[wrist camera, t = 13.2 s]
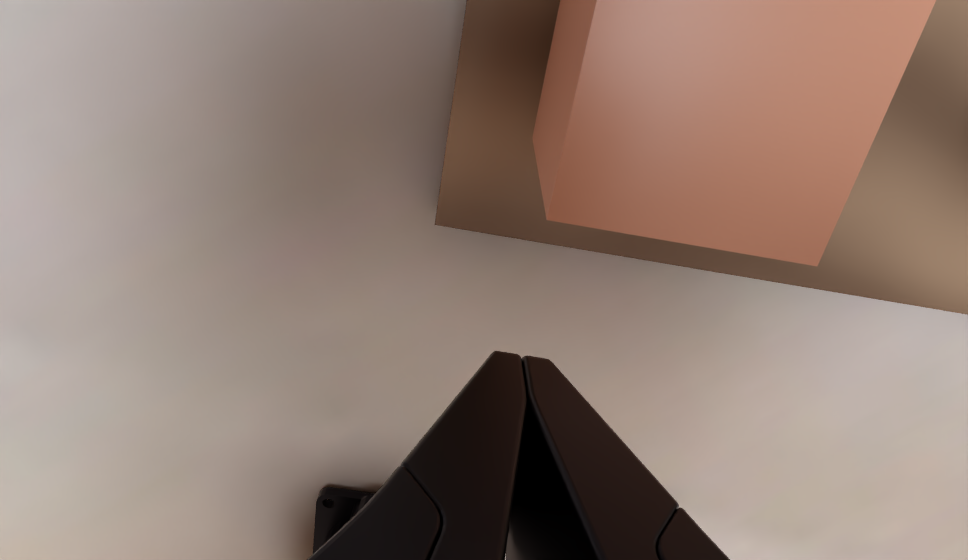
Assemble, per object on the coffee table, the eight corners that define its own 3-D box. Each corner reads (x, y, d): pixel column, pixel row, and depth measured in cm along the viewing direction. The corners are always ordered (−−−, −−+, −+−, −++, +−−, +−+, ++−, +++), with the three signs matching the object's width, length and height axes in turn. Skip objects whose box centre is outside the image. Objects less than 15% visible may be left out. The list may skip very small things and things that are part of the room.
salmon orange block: (712, 169, 18) (817, 266, 12) (532, 138, 17) (546, 220, 11) (780, -33, 15) (953, -40, 9) (575, -73, 15) (620, -106, 9)
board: (1059, 317, 22) (1088, 334, 21) (438, 211, 21) (434, 224, 20) (1314, -70, 17) (1371, -74, 16) (503, -236, 16) (502, -252, 14)
